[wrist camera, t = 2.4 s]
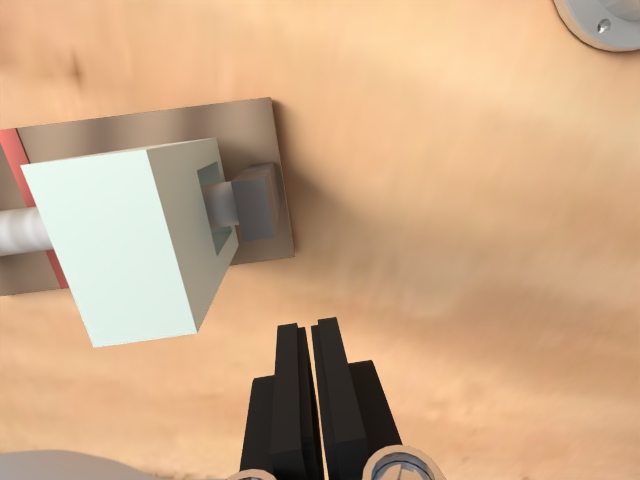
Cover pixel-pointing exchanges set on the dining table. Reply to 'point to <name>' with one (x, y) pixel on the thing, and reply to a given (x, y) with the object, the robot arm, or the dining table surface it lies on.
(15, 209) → the rod stand
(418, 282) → the dining table surface
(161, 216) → the sleeve block
